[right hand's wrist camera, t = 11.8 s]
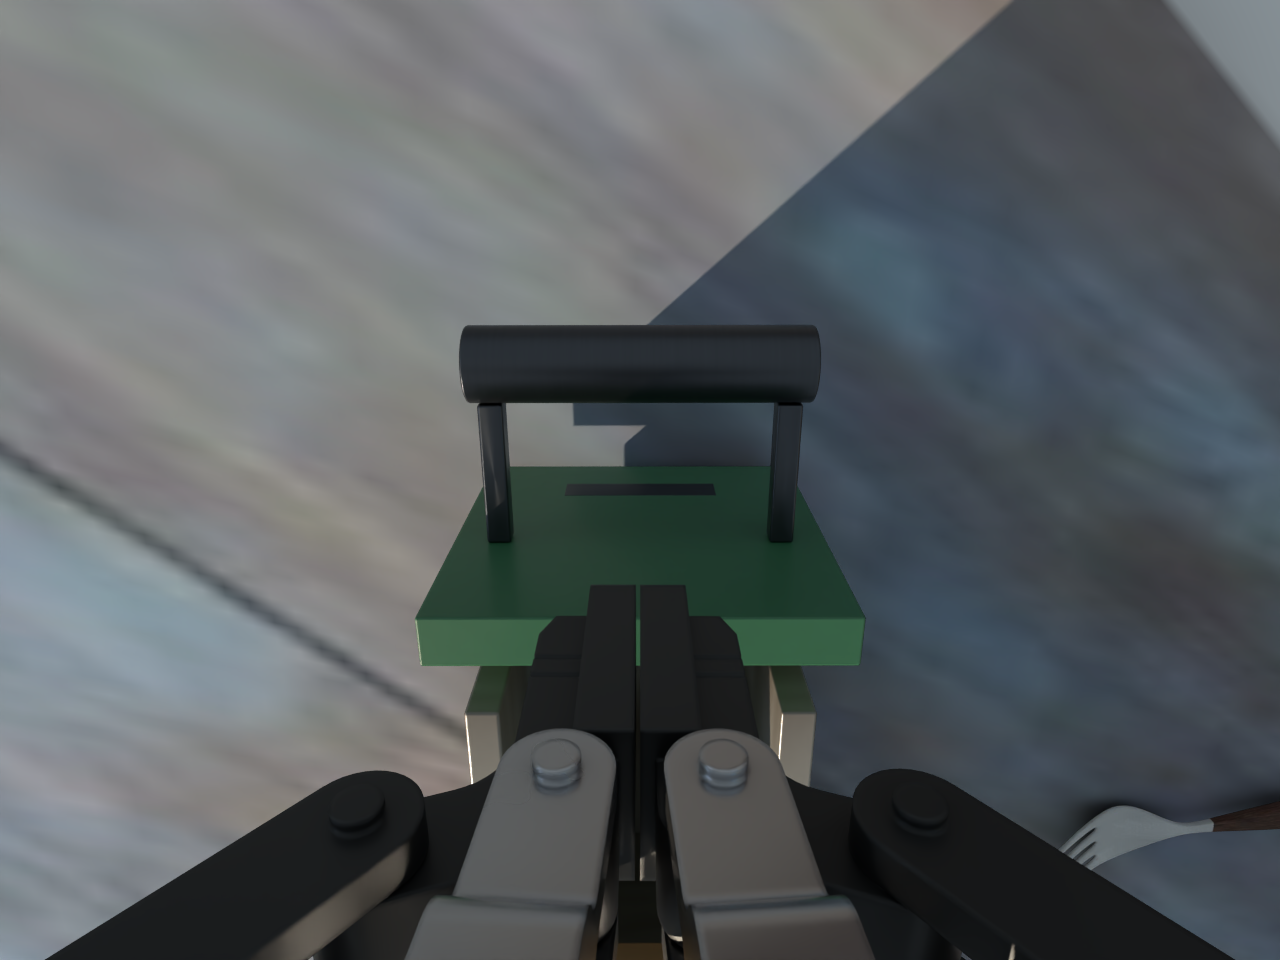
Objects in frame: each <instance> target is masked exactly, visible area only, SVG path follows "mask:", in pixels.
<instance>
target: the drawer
mask: <svg viewBox="0 0 1280 960" xmlns="http://www.w3.org/2000/svg"><path fill="white" fill-rule="evenodd" d="M459 370H460V380H461V386H462V391H463V394H464V397H465V399H466V401H467V402H469V403H479V404H478V406H477V411H478V424H479V437H480V450H481V462H482V475H483V488H482V490H481V492H480V494H479V496H478V497H477V499H476V501H475V503H474V505H473V507H472V509H471V511H470V513H469V515H468V517H467V519H466V521H465V523H464V525H463V527H462V528H461V530H460V532H459V534H458V536H457V538H456V540H455V542H454V544H453V546H452V548H451V550H450V552H449V554H448V556H447V558H446V559H445V561H444V563H443V565H442V567H441V569H440V571H439V573H438V575H437V577H436V579H435V581H434V583H433V585H432V587H431V588H430V590H429V592H428V594H427V596H426V598H425V600H424V602H423V604H422V606H421V608H420V610H419V612H418V614H417V616H416V618H415V623H416V631H417V640H418V648H419V657H420V664H421V665H422V666H480V668H479V671H478V674H477V677H476V680H475V683H474V686H473V689H472V692H471V695H470V698H469V701H468V704H467V707H466V710H465V713H464V715H465V725H466V736H467V746H468V756H469V766H470V777H471V784H473V783H476V782H478V781H480V780H481V779H483V778H485V777H487V776H488V775H490V774H491V773H493V772H494V771H495V770H496V769H497V767H498V764H499V762H500V760H501V757H502V756H503V755H504V753H505V752H506V751H507V750H508V749H509V748H510V747H511V746H512V745H513V744H514V743H515V739H516V735H517V730H518V726H519V721H520V717H521V712H522V708H523V703H524V699H525V694H526V690H527V685H528V681H529V677H530V672H531V667H532V663H533V659H534V654H535V650H536V645H537V641H538V636H539V633H540V632H541V631H542V630H543V629H544V628H545V627H546V626H547V625H548V624H549V623H550V622H551V621H552V620H553V619H554V618H555V617H556V616H587V608H588V600H589V592H590V585H636V794H635V881H619V889H618V943H662V925H661V923H660V921H659V918H658V914H657V903H656V881H640V585H685V586H686V593H687V602H688V610H689V616H720V617H721V618H722V619H723V620H724V621H725V622H726V623H727V624H728V625H729V626H730V627H731V628H732V630H733V631H734V632H735V633H736V634H737V637H738V642H739V646H740V651H741V659H742V660H743V665H744V670H745V677H746V679H747V684H748V689H749V693H750V698H751V703H752V707H753V712H754V717H755V721H756V726H757V731H758V735H759V739H760V740H761V741H763V742H764V743H766V744H767V745H768V746H769V747H770V748H771V749H772V750H773V751H774V752H775V753H776V755H777V756H778V757H779V760H780V762H781V764H782V767H783V769H784V772H785V775H786V776H787V777H789V778H791V779H793V780H794V781H796V782H798V783H801V784H803V785H805V786H808V787H810V780H811V769H812V758H813V748H814V737H815V727H816V716H817V712H816V709H815V706H814V703H813V700H812V697H811V694H810V691H809V688H808V685H807V682H806V679H805V676H804V673H803V670H802V667H801V665H860V663H861V654H862V645H863V637H864V628H865V619H866V618H865V616H864V614H863V612H862V610H861V608H860V606H859V604H858V602H857V600H856V598H855V596H854V595H853V593H852V591H851V589H850V587H849V585H848V583H847V581H846V579H845V577H844V575H843V573H842V571H841V569H840V567H839V566H838V564H837V562H836V560H835V558H834V556H833V554H832V552H831V550H830V548H829V546H828V544H827V542H826V540H825V538H824V537H823V535H822V533H821V531H820V529H819V527H818V525H817V523H816V521H815V519H814V517H813V515H812V513H811V511H810V509H809V508H808V506H807V504H806V502H805V500H804V498H803V496H802V494H801V492H800V490H799V488H798V486H797V481H798V467H799V454H800V440H801V427H802V414H803V405H802V404H801V403H810V402H812V401H813V400H814V399H815V397H816V394H817V390H818V386H819V380H820V370H821V347H820V339H819V334H818V331H817V328H816V327H815V326H814V325H468V326H465V327H464V329H463V331H462V335H461V339H460V348H459ZM506 403H774V418H773V434H772V451H771V466H689V467H510V462H509V447H508V431H507V416H506Z"/></svg>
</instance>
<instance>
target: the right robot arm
mask: <svg viewBox="0 0 1280 960" xmlns="http://www.w3.org/2000/svg"><path fill="white" fill-rule="evenodd" d="M635 794H636V585H590V592H589V600H588V608H587V616H556V617H555V618H554V619H553V620H552V621H551V622H550V623H549V624H548V625H547V626H546V627H545V628H544V629H543V630H542V631H541V632H540V633H539V636H538V641H537V645H536V650H535V654H534V659H533V663H532V667H531V672H530V677H529V681H528V685H527V690H526V694H525V699H524V703H523V708H522V712H521V717H520V721H519V726H518V730H517V735H516V739H515V743H514V744H513V745H512V746H511V747H510V748H509V749H508V750H507V751H506V752H505V753H504V755H503V756H502V757H501V760H500V762H499V764H498V767H497V769H496V770H495V771H494V772H493V773H491V774H490V775H488V776H487V777H485V778H483V779H481V780H480V781H478V782H476V783H473V784H471V785H468V786H466V787H463V788H459V789H456V790H452V791H448V792H444V793H440V794H436V795H432V796H427V797H423V794H422V791H421V789H420V788H419V786H418V785H417V784H416V783H415V782H414V781H413V780H411V779H410V778H408V777H406V776H404V775H401V774H398V773H395V772H389V771H365V772H360V773H355V774H352V775H348V776H345V777H342V778H340V779H338V780H335V781H333V782H331V783H329V784H327V785H326V786H324V787H322V788H320V789H319V790H317V791H316V792H314V793H312V794H311V795H309V796H308V797H306V798H304V799H303V800H301V801H299V802H298V803H296V804H295V805H293V806H291V807H290V808H288V809H287V810H285V811H283V812H282V813H280V814H279V815H277V816H275V817H274V818H272V819H271V820H269V821H267V822H266V823H264V824H262V825H261V826H259V827H258V828H256V829H254V830H253V831H251V832H250V833H248V834H246V835H245V836H243V837H242V838H240V839H238V840H237V841H235V842H234V843H232V844H230V845H229V846H227V847H225V848H224V849H222V850H221V851H219V852H217V853H216V854H214V855H213V856H211V857H209V858H208V859H206V860H205V861H203V862H201V863H200V864H198V865H197V866H195V867H193V868H192V869H190V870H188V871H187V872H185V873H184V874H182V875H180V876H179V877H177V878H176V879H174V880H172V881H171V882H169V883H168V884H166V885H164V886H163V887H161V888H160V889H158V890H156V891H155V892H153V893H151V894H150V895H148V896H147V897H145V898H143V899H142V900H140V901H139V902H137V903H135V904H134V905H132V906H131V907H129V908H127V909H126V910H124V911H123V912H121V913H119V914H118V915H116V916H114V917H113V918H111V919H110V920H108V921H106V922H105V923H103V924H102V925H100V926H98V927H97V928H95V929H94V930H92V931H90V932H89V933H87V934H86V935H84V936H82V937H81V938H79V939H77V940H76V941H74V942H73V943H71V944H69V945H68V946H66V947H65V948H63V949H61V950H60V951H58V952H57V953H55V954H53V955H52V956H50V957H49V958H47V959H45V960H308V959H309V958H311V957H312V956H313V959H314V960H616V958H617V949H618V889H619V881H635ZM640 881H656V903H657V914H658V918H659V921H660V923H661V925H662V949H663V958H664V960H965V959H964V958H963V957H961V954H962V952H963V953H964V954H965V955H967V956H968V957H969V958H971V959H972V960H1235V959H1233V958H1231V957H1230V956H1228V955H1227V954H1225V953H1223V952H1222V951H1220V950H1219V949H1217V948H1215V947H1214V946H1212V945H1211V944H1209V943H1207V942H1206V941H1204V940H1202V939H1201V938H1199V937H1198V936H1196V935H1194V934H1193V933H1191V932H1190V931H1188V930H1186V929H1185V928H1183V927H1182V926H1180V925H1178V924H1177V923H1175V922H1174V921H1172V920H1170V919H1169V918H1167V917H1165V916H1164V915H1162V914H1161V913H1159V912H1157V911H1156V910H1154V909H1153V908H1151V907H1149V906H1148V905H1146V904H1145V903H1143V902H1141V901H1140V900H1138V899H1137V898H1135V897H1133V896H1132V895H1130V894H1128V893H1127V892H1125V891H1124V890H1122V889H1120V888H1119V887H1117V886H1116V885H1114V884H1112V883H1111V882H1109V881H1108V880H1106V879H1104V878H1103V877H1101V876H1100V875H1098V874H1096V873H1095V872H1093V871H1092V870H1090V869H1088V868H1087V867H1085V866H1083V865H1082V864H1080V863H1079V862H1077V861H1075V860H1074V859H1072V858H1071V857H1069V856H1067V855H1066V854H1064V853H1063V852H1061V851H1059V850H1058V849H1056V848H1055V847H1053V846H1051V845H1050V844H1048V843H1046V842H1045V841H1043V840H1042V839H1040V838H1038V837H1037V836H1035V835H1034V834H1032V833H1030V832H1029V831H1027V830H1026V829H1024V828H1022V827H1021V826H1019V825H1018V824H1016V823H1014V822H1013V821H1011V820H1009V819H1008V818H1006V817H1005V816H1003V815H1001V814H1000V813H998V812H997V811H995V810H993V809H992V808H990V807H989V806H987V805H985V804H984V803H982V802H981V801H979V800H977V799H976V798H974V797H972V796H971V795H969V794H968V793H966V792H964V791H963V790H961V789H960V788H958V787H956V786H955V785H953V784H951V783H949V782H948V781H946V780H944V779H941V778H939V777H937V776H934V775H931V774H928V773H925V772H921V771H916V770H910V769H889V770H883V771H879V772H876V773H873V774H871V775H870V776H868V777H866V778H865V779H864V780H862V781H861V782H860V783H859V785H858V786H857V788H856V789H855V792H854V795H853V798H850V797H846V796H841V795H837V794H833V793H829V792H825V791H821V790H818V789H814V788H811V787H808V786H805V785H803V784H801V783H798V782H796V781H794V780H793V779H791V778H789V777H787V776H786V775H785V772H784V769H783V767H782V764H781V762H780V760H779V757H778V756H777V755H776V753H775V752H774V751H773V750H772V749H771V748H770V747H769V746H768V745H767V744H766V743H764V742H763V741H761V740H760V739H759V735H758V731H757V726H756V721H755V717H754V712H753V707H752V703H751V698H750V693H749V689H748V684H747V679H746V677H745V670H744V665H743V660H742V659H741V651H740V646H739V642H738V637H737V634H736V633H735V632H734V631H733V630H732V628H731V627H730V626H729V625H728V624H727V623H726V622H725V621H724V620H723V619H722V618H721V617H720V616H689V610H688V602H687V593H686V586H685V585H640Z"/></svg>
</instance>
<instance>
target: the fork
mask: <svg viewBox="0 0 1280 960" xmlns="http://www.w3.org/2000/svg"><path fill="white" fill-rule="evenodd" d="M1093 828H1095V829H1094V831H1093V832H1092V833H1091V834H1089V835H1088V836H1087V837H1086V838H1085V839H1084V840H1083V841H1081V842H1080V843H1079V844H1078V845H1077V846H1076V847H1075V848H1074V849H1073V850H1072V851H1071V852H1069V853H1068V854H1067V856H1069V857H1071V858H1072V859H1073V858H1074V857H1075V856H1076V855H1077V854H1078V853H1080V852H1081V851H1082V850H1083V849H1084V848H1086V847H1087V846H1088V845H1090V844H1091V843H1093V842H1095V843H1094V844H1093V845H1092V846H1091V847H1090V848H1089V849H1088V850H1087V851H1085V852H1084V853H1083V854H1082V855H1081V856H1080V857H1079V858H1078V859H1076V860H1075V861H1077V862H1079V863H1080V864H1083V863H1084V862H1085V861H1086V860H1088V859H1089V858H1091V857H1092V856H1094V855H1095V856H1094V857H1093V858H1092V859H1091V860H1090V861H1089V862H1088V863H1087V864H1086V865H1085V867H1087V868H1088V869H1090V870H1092V869H1093V868H1095V867H1097V866H1098V865H1100V864H1102V863H1104V862H1106V861H1108V860H1110V859H1112V858H1115V857H1117V856H1119V855H1122V854H1125V853H1127V852H1130V851H1132V850H1135V849H1138V848H1141V847H1143V846H1146V845H1149V844H1152V843H1155V842H1158V841H1161V840H1164V839H1168V838H1171V837H1175V836H1179V835H1184V834H1190V833H1200V832H1217V831H1243V830H1268V829H1280V801H1278V802H1274V803H1270V804H1266V805H1261V806H1257V807H1253V808H1249V809H1245V810H1241V811H1237V812H1233V813H1229V814H1225V815H1222V816H1218V817H1213V818H1209V819H1205V820H1201V821H1196V822H1189V823H1180V822H1174V821H1170V820H1168V819H1165V818H1162V817H1160V816H1157V815H1155V814H1153V813H1150V812H1148V811H1145V810H1143V809H1140V808H1136V807H1132V806H1115V807H1112V808H1109V809H1107V810H1105V811H1103V812H1102V813H1100V814H1099V815H1097V816H1096V817H1095V818H1093V819H1092V820H1090V821H1089V822H1088V823H1087V824H1085V825H1084V826H1083V827H1082V828H1081V829H1079V830H1078V831H1077V832H1076V833H1075V834H1074V835H1073V836H1072V837H1071V838H1070V839H1069V840H1068V841H1067V842H1066V843H1065V844H1063V845H1062V846H1061V847H1060V848H1059V849H1058V850H1059V851H1061V852H1063V853H1064V852H1065V851H1066V850H1067V849H1068V848H1070V847H1071V846H1072V845H1073V844H1074V843H1075V842H1076V841H1078V840H1079V839H1080V838H1081V837H1082V836H1084V835H1085V834H1086V833H1087V832H1089V831H1090V830H1092V829H1093Z"/></svg>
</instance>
